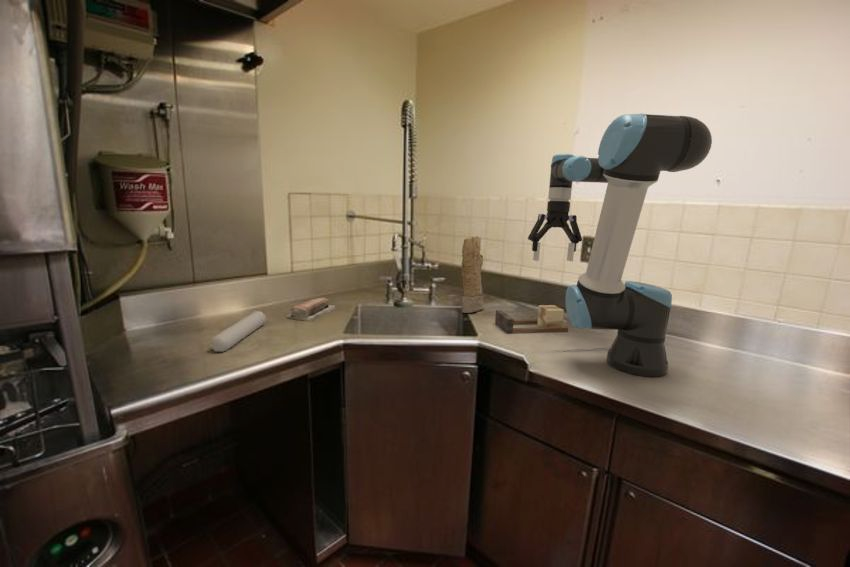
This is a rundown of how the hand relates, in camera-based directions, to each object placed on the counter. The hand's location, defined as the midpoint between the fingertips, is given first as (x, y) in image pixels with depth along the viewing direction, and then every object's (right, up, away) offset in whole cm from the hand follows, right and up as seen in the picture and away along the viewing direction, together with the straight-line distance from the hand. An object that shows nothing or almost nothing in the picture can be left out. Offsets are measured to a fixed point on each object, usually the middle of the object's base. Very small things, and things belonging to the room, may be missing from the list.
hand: (553, 260), depth 143 cm
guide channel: (-10, -25, -5) cm, 27 cm away
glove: (-28, -19, +18) cm, 38 cm away
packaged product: (-88, -20, +5) cm, 91 cm away
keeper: (-3, -23, -4) cm, 24 cm away
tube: (-102, -25, -23) cm, 108 cm away
